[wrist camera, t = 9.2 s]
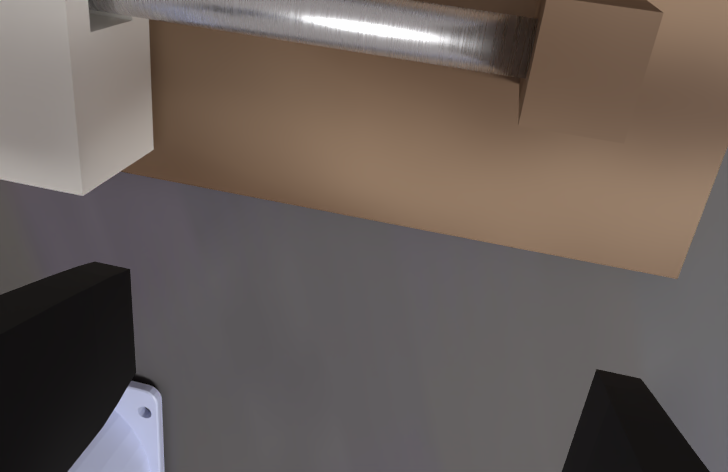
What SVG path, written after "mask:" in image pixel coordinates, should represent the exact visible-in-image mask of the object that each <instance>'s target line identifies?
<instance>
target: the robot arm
mask: <svg viewBox="0 0 728 472" xmlns="http://www.w3.org/2000/svg"><path fill="white" fill-rule="evenodd" d="M135 373H136V364H135V347H134V330H133V313H132V296H131V279H130V269H126V268H122V267H117V266H112V265H108V264H103V263H98V262H92V263H88V264H85V265H81V266H78V267H75V268H72V269H69V270H66V271H63V272H60V273H58V274H55V275H52V276H49V277H47V278H44V279H41V280H39V281H36V282H33V283H31V284H28V285H25V286H23V287H20V288H18V289H15V290H12V291H10V292H7V293H4V294H2V295H0V472H164V445H163V418H162V398H161V394H160V393H159V391H158V390H157V389H156V388H155V387H153V386H150V385H147V384H143V383H139V382H135V381H131V380H132V378H133V377H134V375H135ZM145 407H146V408H148V409H149V410H147V409H146V408H145ZM562 472H710V471H709V470H708V469H707V468H706V466H705V465H704V464H703V462H702V461H701V460H700V458H699V457H698V456H697V454H696V453H695V452H694V450H693V449H692V448H691V446H690V445H689V444H688V442H687V441H686V440H685V438H684V437H683V435H682V434H681V433H680V431H679V430H678V429H677V427H676V426H675V425H674V423H673V422H672V420H671V419H670V418H669V416H668V415H667V414H666V412H665V411H664V409H663V408H662V407H661V405H660V404H659V403H658V401H657V400H656V398H655V397H654V396H653V394H652V393H651V392H650V390H649V389H648V388H647V386H646V385H645V384H644V382H643V381H642V380H641V379H640V378H635V377H630V376H626V375H621V374H616V373H612V372H607V371H602V370H598V369H596V372H595V375H594V378H593V381H592V384H591V387H590V390H589V393H588V396H587V399H586V402H585V405H584V408H583V411H582V414H581V417H580V420H579V423H578V426H577V429H576V431H575V434H574V437H573V440H572V443H571V446H570V449H569V452H568V455H567V458H566V461H565V464H564V467H563V470H562Z"/></svg>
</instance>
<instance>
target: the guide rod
mask: <svg viewBox="0 0 728 472" xmlns="http://www.w3.org/2000/svg"><path fill="white" fill-rule="evenodd" d="M88 6H89V10H94V11H101V12H107V13H113V14H120V15H126V16H132V17H139V18H145V19H151V20H158V21H164V22H170V23H176V24H183V25H189V26H195V27H202V28H208V29H214V30H221V31H227V32H233V33H240V34H246V35H252V36H259V37H265V38H271V39H278V40H284V41H290V42H296V43H303V44H309V45H315V46H322V47H328V48H334V49H341V50H347V51H353V52H360V53H366V54H372V55H379V56H385V57H391V58H398V59H404V60H410V61H417V62H423V63H429V64H435V65H442V66H448V67H454V68H461V69H467V70H473V71H480V72H486V73H492V74H499V75H505V76H511V77H518V78H524V79H525V78H526V75H527V72H528V68H529V64H530V59H531V55H532V51H533V46H534V41H535V36H536V30H537V24H538V19H537V18H530V17H523V16H516V15H509V14H502V13H496V12H489V11H482V10H475V9H468V8H461V7H454V6H448V5H441V4H434V3H427V2H420V1H413V0H88Z"/></svg>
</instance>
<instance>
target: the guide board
mask: <svg viewBox="0 0 728 472" xmlns="http://www.w3.org/2000/svg"><path fill="white" fill-rule="evenodd" d="M413 1H420V2H427V3H434V4H441V5H448V6H454V7H461V8H468V9H475V10H482V11H489V12H496V13H502V14H509V15H516V16H523V17H530V18H537V19H538V24H537V30H536V36H535V41H534V46H533V51H532V55H531V59H530V64H529V68H528V72H527V75H526V78H525V79H524V78H518V77H511V76H505V75H499V74H492V73H486V72H480V71H473V70H467V69H461V68H454V67H448V66H442V65H435V64H429V63H423V62H417V61H410V60H404V59H398V58H391V57H385V56H379V55H372V54H366V53H360V52H353V51H347V50H341V49H334V48H328V47H322V46H315V45H309V44H303V43H296V42H290V41H284V40H278V39H271V38H265V37H259V36H252V35H246V34H240V33H233V32H227V31H221V30H214V29H208V28H202V27H195V26H189V25H183V24H176V23H170V22H164V21H158V20H151V19H149V37H150V64H151V92H152V119H153V146H154V150H152V151H151V152H149V153H148V154H146V155H145V156H143V157H142V158H140V159H139V160H137V161H136V162H134V163H133V164H131V165H129V166H128V167H126V168H125V169H123V170H122V171H121V172H126V173H131V174H136V175H141V176H147V177H152V178H157V179H162V180H167V181H172V182H178V183H183V184H188V185H193V186H198V187H203V188H209V189H214V190H219V191H224V192H229V193H235V194H240V195H245V196H250V197H255V198H260V199H266V200H271V201H276V202H281V203H286V204H292V205H297V206H302V207H307V208H312V209H317V210H323V211H328V212H333V213H338V214H343V215H348V216H354V217H359V218H364V219H369V220H374V221H380V222H385V223H390V224H395V225H400V226H405V227H411V228H416V229H421V230H426V231H431V232H437V233H442V234H447V235H452V236H457V237H462V238H468V239H473V240H478V241H483V242H488V243H494V244H499V245H504V246H509V247H514V248H519V249H525V250H530V251H535V252H540V253H545V254H550V255H556V256H561V257H566V258H571V259H576V260H582V261H587V262H592V263H597V264H602V265H607V266H613V267H618V268H623V269H628V270H633V271H639V272H644V273H649V274H654V275H659V276H664V277H670V278H675V279H678V276H679V273H680V271H681V268H682V266H683V263H684V260H685V258H686V255H687V252H688V250H689V247H690V244H691V242H692V239H693V236H694V234H695V231H696V229H697V226H698V223H699V221H700V218H701V215H702V213H703V210H704V207H705V205H706V202H707V199H708V197H709V194H710V192H711V189H712V186H713V184H714V181H715V178H716V176H717V173H718V170H719V168H720V165H721V162H722V160H723V157H724V155H725V152H726V149H727V147H728V0H413Z"/></svg>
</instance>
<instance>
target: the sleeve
mask: <svg viewBox="0 0 728 472" xmlns="http://www.w3.org/2000/svg"><path fill="white" fill-rule="evenodd" d="M152 150H154V146H153V119H152V92H151V64H150V37H149V19H145V18H139V17H132V16H126V15H120V14H113V13H107V12H101V11H94V10H89V6H88V0H0V179H1V180H6V181H11V182H16V183H21V184H26V185H31V186H36V187H41V188H46V189H51V190H56V191H61V192H66V193H71V194H76V195H81V196H84V195H85V194H87V193H88V192H90V191H91V190H93V189H94V188H96V187H97V186H99V185H100V184H102V183H103V182H105V181H106V180H108V179H110V178H111V177H113V176H114V175H116V174H117V173H119V172H120V171H122V170H123V169H125V168H126V167H128V166H129V165H131V164H133V163H134V162H136V161H137V160H139V159H140V158H142V157H143V156H145V155H146V154H148V153H149V152H151V151H152Z"/></svg>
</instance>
